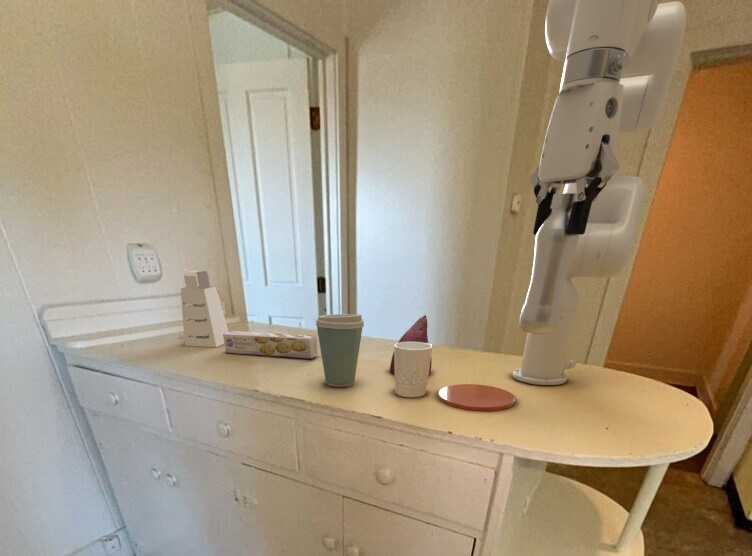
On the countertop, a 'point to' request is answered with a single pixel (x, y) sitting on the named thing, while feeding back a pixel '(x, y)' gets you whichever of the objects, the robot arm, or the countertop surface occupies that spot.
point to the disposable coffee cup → (340, 347)
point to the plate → (476, 397)
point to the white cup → (411, 368)
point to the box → (271, 344)
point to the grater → (202, 312)
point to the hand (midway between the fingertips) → (557, 233)
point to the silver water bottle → (549, 268)
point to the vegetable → (414, 337)
